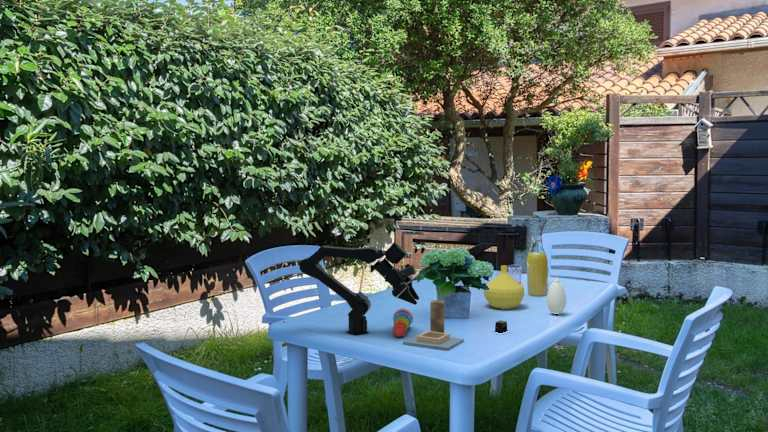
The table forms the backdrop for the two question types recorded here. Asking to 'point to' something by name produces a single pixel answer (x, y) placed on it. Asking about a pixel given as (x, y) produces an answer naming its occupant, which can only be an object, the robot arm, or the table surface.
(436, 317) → the walnut pillar
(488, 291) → the vase
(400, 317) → the stacking toy
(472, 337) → the table surface
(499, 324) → the black block on base
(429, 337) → the grey board with frame
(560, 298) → the sauce bottle
